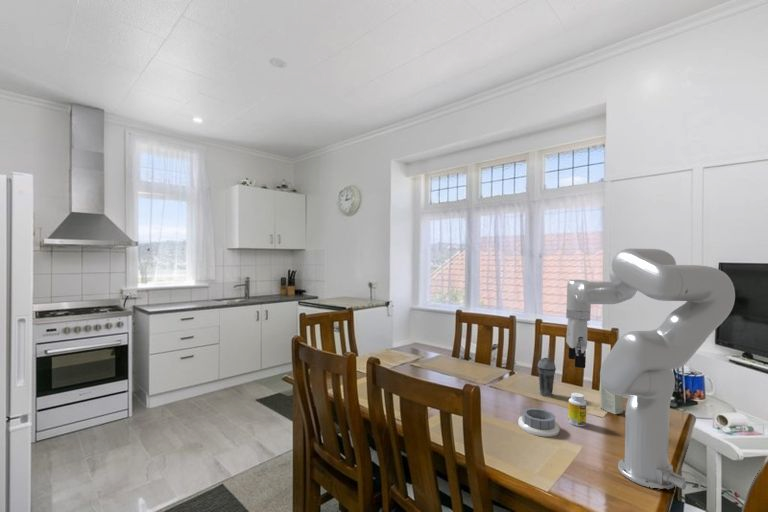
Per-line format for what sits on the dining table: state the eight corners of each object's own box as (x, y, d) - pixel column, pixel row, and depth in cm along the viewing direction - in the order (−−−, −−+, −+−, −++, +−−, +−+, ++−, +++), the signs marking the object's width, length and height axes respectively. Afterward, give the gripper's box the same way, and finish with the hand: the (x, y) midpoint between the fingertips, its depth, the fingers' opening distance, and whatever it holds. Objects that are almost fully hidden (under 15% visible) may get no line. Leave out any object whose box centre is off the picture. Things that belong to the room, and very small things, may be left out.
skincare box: (623, 413, 138) (623, 381, 138) (615, 415, 136) (615, 382, 136) (607, 406, 144) (607, 375, 144) (599, 408, 142) (599, 377, 142)
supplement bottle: (580, 428, 125) (581, 398, 125) (565, 422, 130) (565, 393, 130) (589, 424, 128) (589, 395, 128) (573, 418, 133) (574, 390, 133)
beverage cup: (533, 392, 158) (533, 346, 158) (546, 390, 160) (547, 345, 160) (545, 398, 151) (546, 350, 151) (559, 397, 153) (560, 349, 153)
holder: (567, 431, 123) (568, 418, 123) (541, 440, 117) (541, 426, 117) (535, 416, 134) (535, 403, 134) (510, 423, 128) (510, 410, 128)
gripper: (561, 310, 138) (560, 355, 138) (571, 318, 121) (570, 369, 122) (583, 311, 136) (582, 357, 136) (597, 320, 119) (595, 372, 119)
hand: (576, 363), depth 129 cm, fingers open, 9 cm apart
